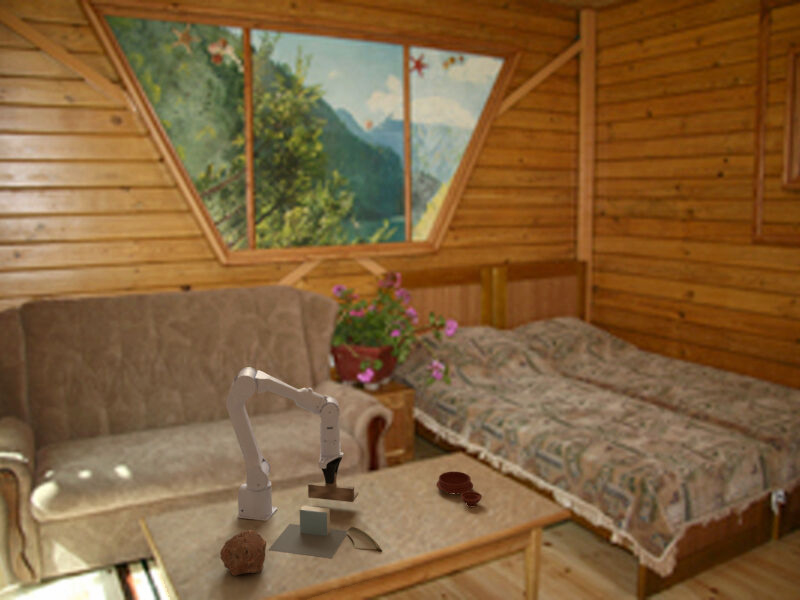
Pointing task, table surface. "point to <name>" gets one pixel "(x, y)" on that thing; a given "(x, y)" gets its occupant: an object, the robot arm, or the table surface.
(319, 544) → the charcoal mat
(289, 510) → the table surface
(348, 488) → the walnut scraper
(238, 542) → the decorative rock
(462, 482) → the pottery
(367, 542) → the ceramic fragment
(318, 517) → the light tan wooden block
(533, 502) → the table surface
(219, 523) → the table surface
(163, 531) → the table surface
